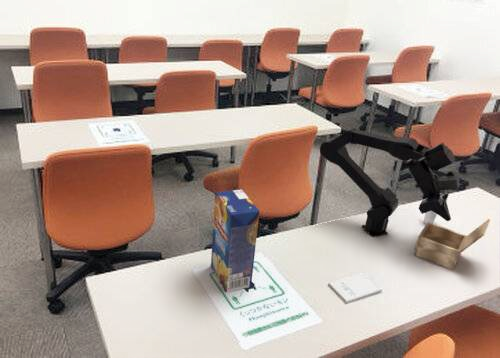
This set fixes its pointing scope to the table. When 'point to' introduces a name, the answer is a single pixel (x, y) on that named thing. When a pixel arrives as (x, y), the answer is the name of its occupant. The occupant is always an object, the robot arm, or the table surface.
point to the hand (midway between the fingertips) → (449, 220)
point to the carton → (439, 245)
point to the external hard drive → (355, 287)
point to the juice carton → (234, 239)
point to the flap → (475, 235)
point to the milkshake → (429, 217)
